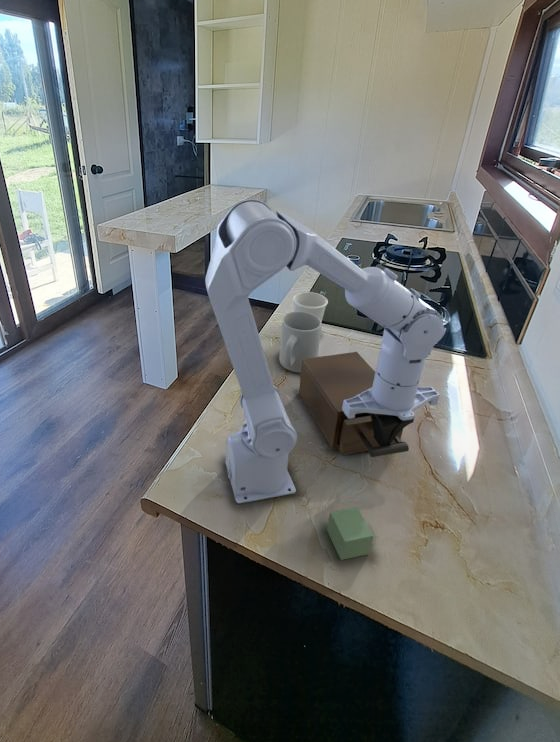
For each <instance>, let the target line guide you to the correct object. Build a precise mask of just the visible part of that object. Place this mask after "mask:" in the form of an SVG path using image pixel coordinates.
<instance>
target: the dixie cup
mask: <svg viewBox="0 0 560 742" xmlns="http://www.w3.org/2000/svg"><path fill="white" fill-rule="evenodd" d="M292 302H293V312H307V313H311V314H313V315H315V316H317V317H318V318H319V319H320V320H321V323H322V321H323V319H324V318H323V317H324V315H325V311H326V308H327V305H328V303H329V301H328V298H327V297H325V296H324V295H323V294H320V293H317V292H315V291H314V292H313V291H302V292H299V293H295V294H294V295H293V297H292Z"/></svg>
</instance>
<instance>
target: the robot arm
mask: <svg viewBox="0 0 560 742" xmlns="http://www.w3.org/2000/svg"><path fill="white" fill-rule="evenodd" d="M274 212H275V213H274ZM274 212H273V210H272V209H271V207H270V206H269V205H268V204H266V203H265V202H264V201H262V200H260V199H257V198H256V199H255V198H246V199H242V200H240V201H238V202H236V203H235V204H234V205H232V206H231V207H230V209H229V210H228V211H227V212H226V214H225V215H224V216H223V218H222V219H221V220H220V222H219V223H218V225H217V228H216V235H215V241H214V246H213V249H212V253H211V257H210V261H209V263H208V267H207V271H206V275H205V279H204V282H205V283H204V284H205V289H206V291H207V295H208V298H209V301H210V304H211V307H212V310H213V313H214V316H215V319H216V321H217V325H218V327H219V330H220V333H221V337H222V339H223V342H224V345H225V348H226V350H227V354H228V356H229V359H230V363H231V366H232V368H233V371H234V374H235V378H236V379H237V382H238V385H239V388H240V391H241V394H240V396H239V397H240V398H239V402H240V407H241V409H242V411H243V415H244V417H245V419H244V422H243V425H242V428H241V429H240V430H238V431H237V432H234V433H232V434H230V435H227V436H226V437H225V439H226V440H225V461H224V463H225V466H226V472H227V478H228V479H229V482H230V485H231V489H232V492H233V496H234V500H235V502H236V503H237V504H246V503H251V502H256V501H261V500H267V499H272V498H277V497H282V496H288V495H294V494H296V492H297V489H296V486H295V484H294V482H293V479H292V477H291V475H290V473H289V471H288V465H289V455H290V452H291V451H292V450H293V449H294V448H295V446H296V444H297V443H298V442H297V441H298V434H297V431H296V430H295V427H293V425H292V423H291V420H290V418H289V416H288V413H287V411H286V409H285V406H284V403H283V401H282V399H281V394H280V391H279V390H278V388H277V387H276V386H275V385H274V381H273V378H272V375H271V372H270V368H269V365H268V361H267V358H266V354H265V351H264V348H263V345H262V340H261V337H260V334H259V331H258V327H257V323H256V320H255V317H254V314H253V309H252V306H251V303H250V300H249V296H250V294H252V292H253V291H254V290H256V289H257V288H258V287H260V286H261V285H263V284H264V283H265V282H267V281H269V280H270V279H271V278H273V277H274V276H275V275H277V274H278V273H280V272H281V271H282V270H283V269H284V268H285V267H286V268H287V269H288V270H289V271H291V272H294V271H295V270H298V269H299V268H301V267H303V266H304V267H305V266H308V267H309V268H311V269H312V270H314V271H316V272H317V273H318V274H320V275H322V276H323V277H325V278H327V279H328V280H330V281H331V282H333V283H334V284H337V285H338V286H340V287H341V288H343V289H344V296H345V300H346V302H347V304H348V305H350V306H351V307H353V308H354V309H355V310H357V311H359V312H360V313H361V314H363V315H365V316H366V317H368V318H369V319H370V320H371V321H374V322H375V323H376V324H378V325H380V326H381V327H383V328H384V329H383V334H382V339H381V344H380V347H379V349H380V350H379V354H378V358H377V362H376V367H375V377H374V381H373V386H372V388H370V389H368V390H366V391H364V392H362V393H360V394H358V395H357V396H355V397H353V398H350V399H346V400H344V401H343V406H342V410H343V412H344V413H345V415H346V416H347V417H348V419H350V418H355V414H359V413H369V414H370V416H371V420H372V424H373V430H374V438H375V440H376V441H377V442H378V444H379V445H380V446H382V445H388V444H390V443H391V442H392V441H393V439H394V438H395V437H396V435H397V434H398V433H399V432H400V431H401V430H402V429H403V430H404V428H406V427H407V426H409V425H411V424H413V423H414V420H415V413H414V411H416V410H419V409H420V408H421V407H422V406H425V405H426V404H427V403H428V404H429V405H431V406H434V405H438V403H439V399H440V396H441V394H440V393H438V391H437V390H436V389H435V388H433V387H432V386H419V384H420V381H421V378H422V373H423V370H424V367H425V364H426V360H427V359H428V357H429V356H431V353H432V351H433V348H434V346H436V344H438V343H439V342H440V341H441V340H442V338H443V337H444V336H445V334H446V332H447V328H446V327H445V326H444V321H443V317H442V314H441V313H440V312H439V311H437V310H436V309H435V308H433V307H432V306H430V305H429V304H428V303H427V302H425V301H424V300H422V299H421V297H422V295H421V294H420V292H418V291H416V290H415V289H414V288H411V287H410V288H409V289H408V288H406V287H405V286H404V285H403V284H401V283H400V282H399V281H397V279H398V278H399V276H398V275H397V274H396V273H395V272H393V271H391V270H390V269H389V268H387V267H384V269H383V270H382V269H381V268H379V267H377V266H367V267H364V268H360V266H358V265H357V264H355V262H353V261H352V260H350V259H349V258H348V257H346V256H345V255H344V254H343V253H342V252H340V251H338V250H337V248H335V247H334V246H332V245H331V244H330V243H329V242H327V240H324V238H322V237H321V236H320V235H318V234H317V233H316V232H315V231H313V230H312V229H310V228H309V227H308V226H307V225H305V224H302V223H301V222H299V221H297V220H296V219H294V218H292V217H290V216H289V215H287V214H285V213H283V212H281V211H279V210H277V209H275V211H274Z"/></svg>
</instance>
